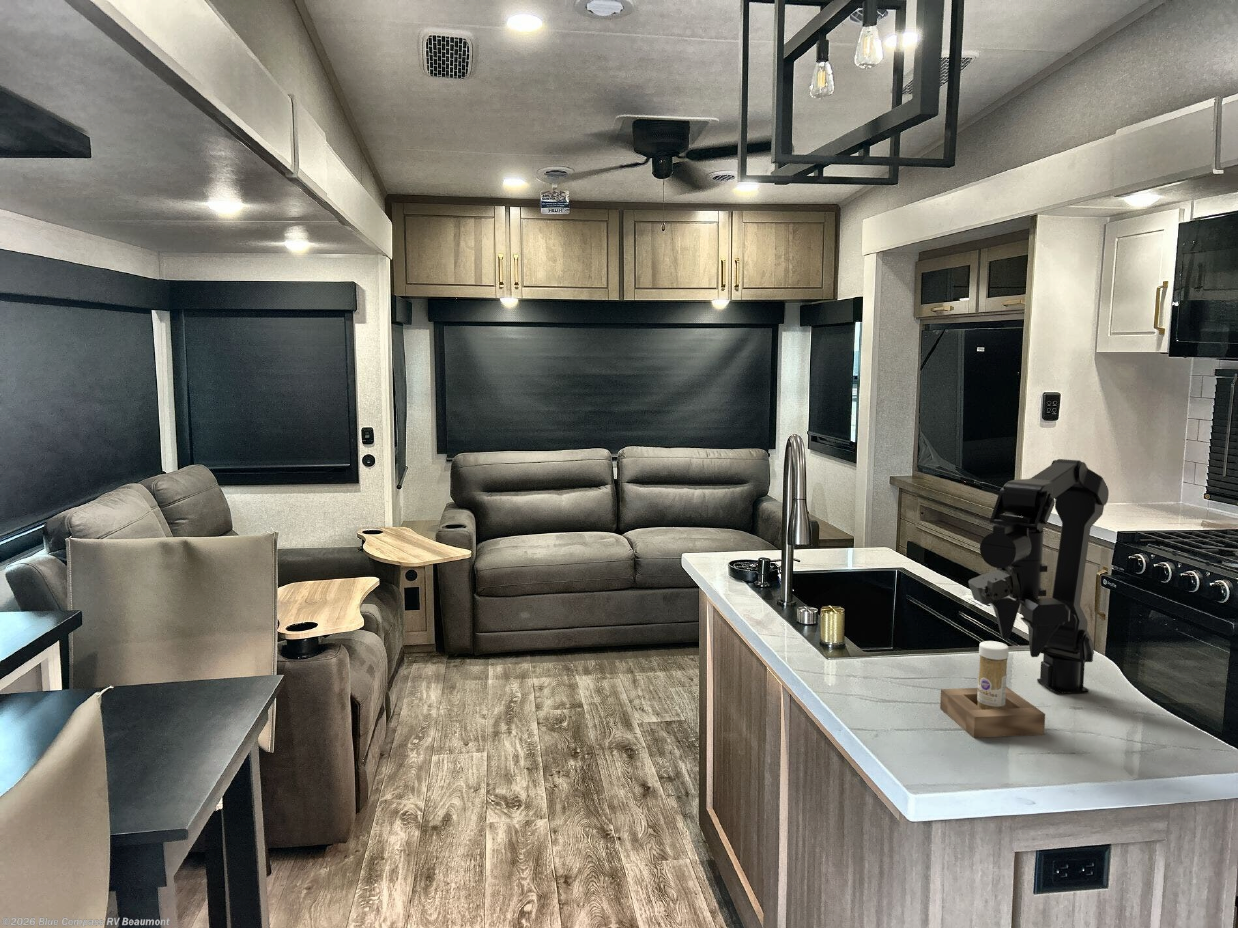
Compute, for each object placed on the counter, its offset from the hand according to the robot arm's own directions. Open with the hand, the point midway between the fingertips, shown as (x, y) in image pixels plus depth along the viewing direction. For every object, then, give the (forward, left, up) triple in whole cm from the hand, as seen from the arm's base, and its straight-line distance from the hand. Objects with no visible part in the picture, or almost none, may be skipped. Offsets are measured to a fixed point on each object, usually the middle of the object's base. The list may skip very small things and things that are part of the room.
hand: (1019, 647), depth 146 cm
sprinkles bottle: (+5, 0, -13) cm, 14 cm away
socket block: (+5, 0, -13) cm, 13 cm away
